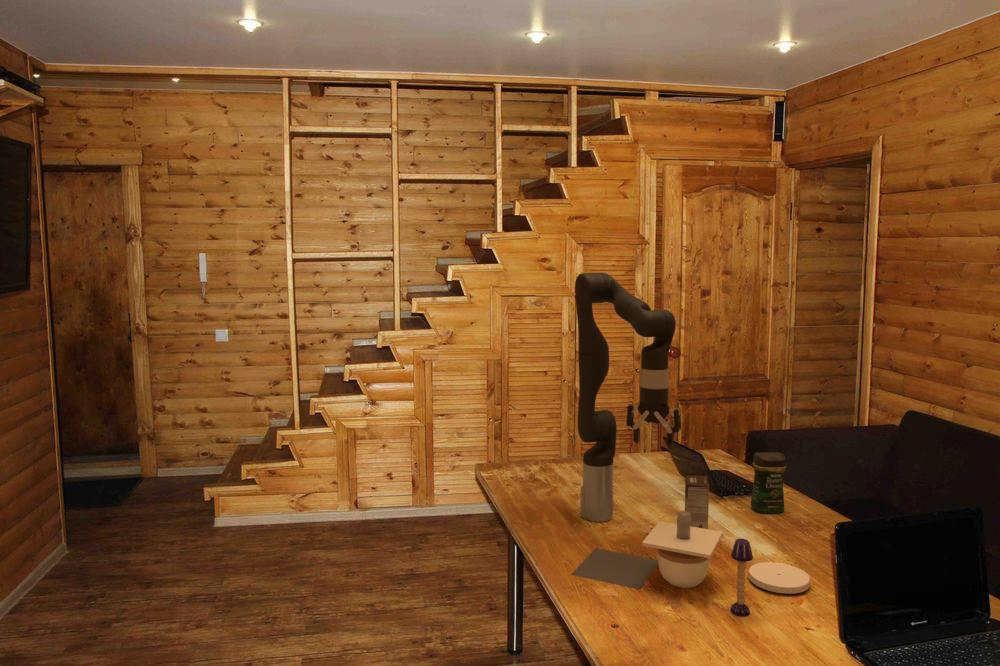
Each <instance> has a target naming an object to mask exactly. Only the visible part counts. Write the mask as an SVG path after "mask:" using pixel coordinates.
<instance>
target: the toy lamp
mask: <svg viewBox="0 0 1000 666" xmlns="http://www.w3.org/2000/svg"><path fill="white" fill-rule="evenodd" d="M750 543H751V542H750V541H749V540H748V539H746V538H736V539H735V541H734V544H733V546H732V547H733V548H732V549H731V554H730V557H731V559H733V560H734V561H737V566H736V567H737V569H736V570H737V572H736V576H737V578H736V583H737V584H736V590H737V591H736V602H734V603H733V604H731V606H730V612H731V614H733V615H735V616H739V617H745V616H746V617H747V616H749V615H750V614H751V610H750V607H749V606H748V605H747V604H746V603H745V602H746V600H745V595H746V594H745V590H746V586H745V584H746V579H745V577H746V572H745V571H746V562H751V561H753V559H754V555H753V551H752V548H751V544H750Z"/></svg>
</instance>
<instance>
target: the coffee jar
mask: <svg viewBox="0 0 1000 666" xmlns="http://www.w3.org/2000/svg"><path fill="white" fill-rule="evenodd" d="M752 467H753V470H754V475H753V477H754V479H753V486H752V487H753V488H752V492H751V499H750V507H751V508H752V510H753V511H754V512H758V513H761V514H780V513H783V512H784V511H785V497H784V496H785V495H784V494H785V493H784V473H785V471H786V469H787V463H786V456H785V455H784V454H783V453H781V452H779V451H775V452H773V451H771V452H754V455H753V460H752Z"/></svg>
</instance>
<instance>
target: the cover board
mask: <svg viewBox="0 0 1000 666" xmlns="http://www.w3.org/2000/svg"><path fill="white" fill-rule="evenodd" d="M690 525H691V513H689V512H686V511H685V510H679V511H677V513H676V523H673V522H667V521H661V520H659V521H658V522H657V524H655V526H654V527H653V529H652V530H651V531H650V532H649V534H648V535H647V536H645V538H644V539H643V541H642V543H641V547H647V548H653V549H656V550H657V549H662V550H668V551H673V552H678V553H683V554H689V555H694V556H699V557H705V558H709V559H711V558H712V556H713V554H714V552H715V551H716V549H717V547H718V545H719V543H720V541H721V539H722V537H723V535H724V532H723V531H720V530H713V529H709V528H708V529H703V528H697V527H691V526H690Z"/></svg>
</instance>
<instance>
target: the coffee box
mask: <svg viewBox="0 0 1000 666" xmlns="http://www.w3.org/2000/svg"><path fill="white" fill-rule="evenodd" d="M684 476H685V481H684V511H686V512H689V513H691V525H690V526H691V527H697V528H703V529H709V503H710V502H709V501H710V500H709V498H710V496H709V495H710V484H709V479H708V475H690V474H689V475H684Z"/></svg>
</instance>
